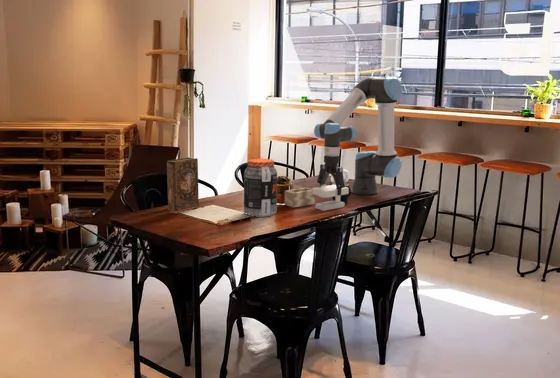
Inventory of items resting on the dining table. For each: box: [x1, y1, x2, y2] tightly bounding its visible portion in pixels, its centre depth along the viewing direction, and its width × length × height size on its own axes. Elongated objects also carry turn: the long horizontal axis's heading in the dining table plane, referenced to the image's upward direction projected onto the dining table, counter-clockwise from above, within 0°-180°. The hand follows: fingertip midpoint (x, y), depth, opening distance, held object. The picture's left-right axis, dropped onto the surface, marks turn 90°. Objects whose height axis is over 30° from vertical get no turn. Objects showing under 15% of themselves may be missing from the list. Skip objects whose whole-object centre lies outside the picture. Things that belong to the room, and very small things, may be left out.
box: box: [284, 187, 316, 208], centre depth 291 cm, size 14×7×8 cm, turn 128°
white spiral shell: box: [330, 169, 350, 184], centre depth 349 cm, size 11×12×9 cm
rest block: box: [314, 200, 346, 212], centre depth 285 cm, size 14×6×3 cm, turn 128°
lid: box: [311, 184, 349, 199], centre depth 284 cm, size 15×10×4 cm, turn 128°
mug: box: [331, 182, 352, 204], centre depth 297 cm, size 12×9×10 cm
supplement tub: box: [243, 158, 278, 218], centre depth 272 cm, size 16×16×26 cm
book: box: [166, 156, 200, 211], centre depth 276 cm, size 16×6×25 cm, turn 145°
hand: (330, 199), depth 284 cm, fingers closed on lid, 10 cm apart
